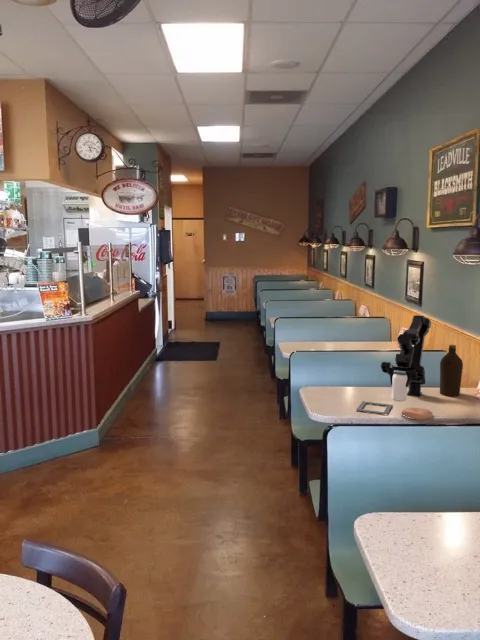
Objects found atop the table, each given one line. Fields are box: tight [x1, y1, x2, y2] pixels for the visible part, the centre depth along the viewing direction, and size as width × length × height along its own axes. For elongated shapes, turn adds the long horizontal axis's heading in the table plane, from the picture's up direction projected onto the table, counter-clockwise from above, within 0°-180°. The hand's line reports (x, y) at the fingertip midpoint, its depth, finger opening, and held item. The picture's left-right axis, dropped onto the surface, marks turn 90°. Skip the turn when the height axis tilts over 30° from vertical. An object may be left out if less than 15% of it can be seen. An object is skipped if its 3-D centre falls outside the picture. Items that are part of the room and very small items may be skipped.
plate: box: [401, 407, 434, 421], centre depth 242 cm, size 13×13×1 cm
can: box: [391, 371, 408, 402], centre depth 242 cm, size 6×6×12 cm
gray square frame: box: [355, 400, 393, 415], centre depth 250 cm, size 14×14×1 cm
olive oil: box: [439, 344, 464, 397], centre depth 270 cm, size 11×11×25 cm
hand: (398, 385), depth 241 cm, fingers closed on can, 6 cm apart
